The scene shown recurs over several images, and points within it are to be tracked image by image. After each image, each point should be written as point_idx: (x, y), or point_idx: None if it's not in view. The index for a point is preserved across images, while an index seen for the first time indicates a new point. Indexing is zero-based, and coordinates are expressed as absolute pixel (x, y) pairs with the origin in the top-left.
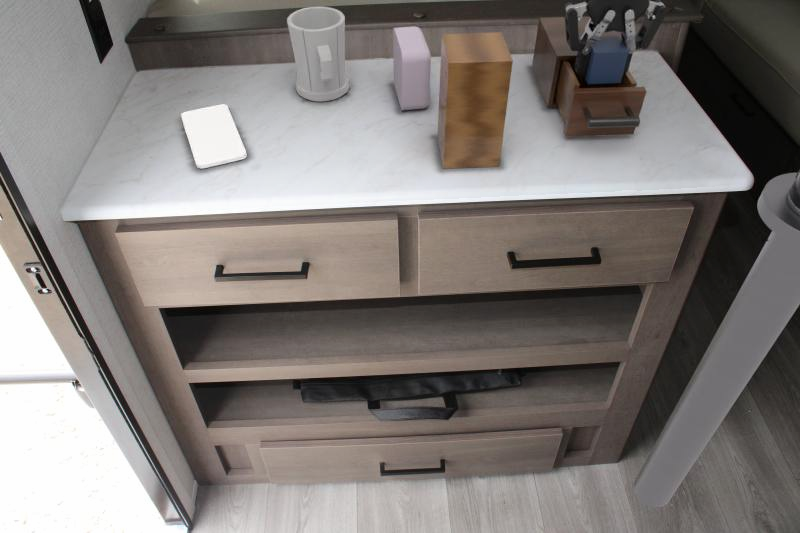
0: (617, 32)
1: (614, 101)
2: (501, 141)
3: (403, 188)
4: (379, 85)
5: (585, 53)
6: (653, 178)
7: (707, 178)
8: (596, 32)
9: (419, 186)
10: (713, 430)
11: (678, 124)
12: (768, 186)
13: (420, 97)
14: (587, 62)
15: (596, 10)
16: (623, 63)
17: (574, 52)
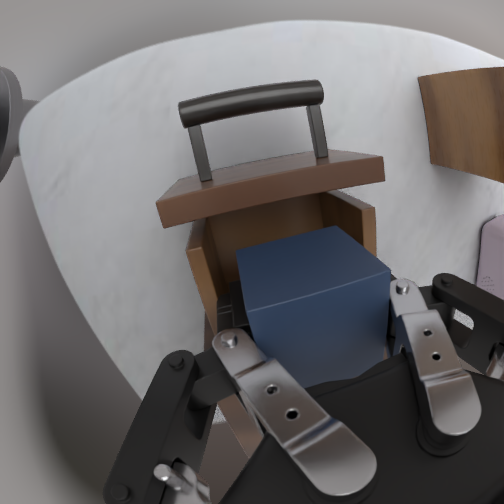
0: (238, 436)
1: (250, 173)
2: (450, 72)
3: (486, 59)
4: None
5: (400, 281)
6: (151, 55)
7: (62, 89)
8: (439, 328)
9: (477, 57)
10: None
11: (96, 254)
12: (2, 147)
13: (501, 224)
14: None
15: (497, 400)
16: (250, 280)
17: None
